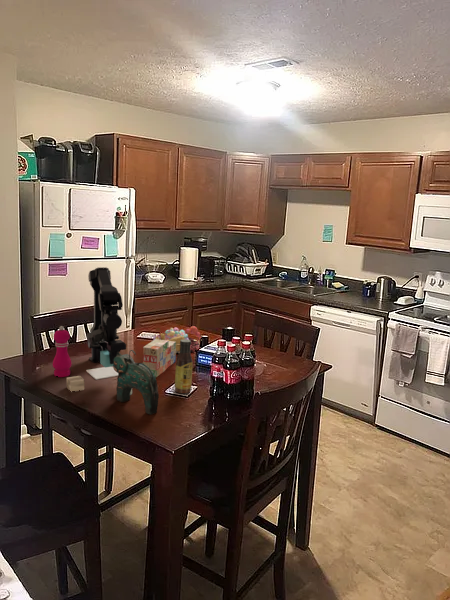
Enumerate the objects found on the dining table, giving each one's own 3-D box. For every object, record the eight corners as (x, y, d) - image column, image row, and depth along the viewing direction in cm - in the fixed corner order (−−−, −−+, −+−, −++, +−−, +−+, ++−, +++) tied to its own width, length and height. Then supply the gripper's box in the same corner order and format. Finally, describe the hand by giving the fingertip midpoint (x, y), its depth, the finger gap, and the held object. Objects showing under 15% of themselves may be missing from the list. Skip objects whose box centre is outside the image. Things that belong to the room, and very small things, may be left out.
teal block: (100, 363, 195) (100, 351, 194) (112, 361, 198) (112, 349, 197) (105, 367, 191) (105, 354, 190) (117, 365, 194) (117, 353, 193)
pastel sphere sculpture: (199, 356, 233) (200, 337, 231) (148, 353, 233) (149, 334, 232) (203, 340, 258) (203, 323, 256) (157, 337, 258) (157, 320, 256)
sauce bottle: (184, 395, 187) (186, 344, 183) (171, 391, 190) (172, 341, 186) (194, 390, 192) (196, 340, 188) (181, 386, 196) (183, 337, 191)
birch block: (66, 387, 189) (66, 377, 188) (80, 385, 191) (79, 375, 191) (70, 392, 185) (70, 382, 184) (84, 390, 187) (84, 380, 187)
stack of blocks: (162, 359, 225) (163, 333, 223) (175, 361, 224) (176, 335, 221) (142, 375, 205) (142, 346, 202) (156, 377, 203) (157, 348, 201)
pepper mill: (54, 378, 196) (53, 329, 192) (51, 372, 203) (50, 324, 198) (73, 376, 200) (72, 327, 195) (69, 370, 206) (69, 323, 202)
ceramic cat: (111, 399, 180) (111, 346, 176) (125, 394, 185) (126, 342, 181) (148, 417, 168) (149, 360, 164) (162, 411, 173) (164, 356, 169)
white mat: (85, 371, 206) (85, 370, 206) (111, 366, 212) (111, 365, 212) (95, 379, 197) (95, 378, 197) (122, 375, 204) (122, 374, 204)
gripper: (79, 319, 194) (80, 357, 197) (98, 331, 179) (98, 372, 182) (107, 316, 200) (107, 353, 203) (127, 327, 185) (126, 368, 188)
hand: (109, 361), depth 194 cm, fingers closed on teal block, 5 cm apart
